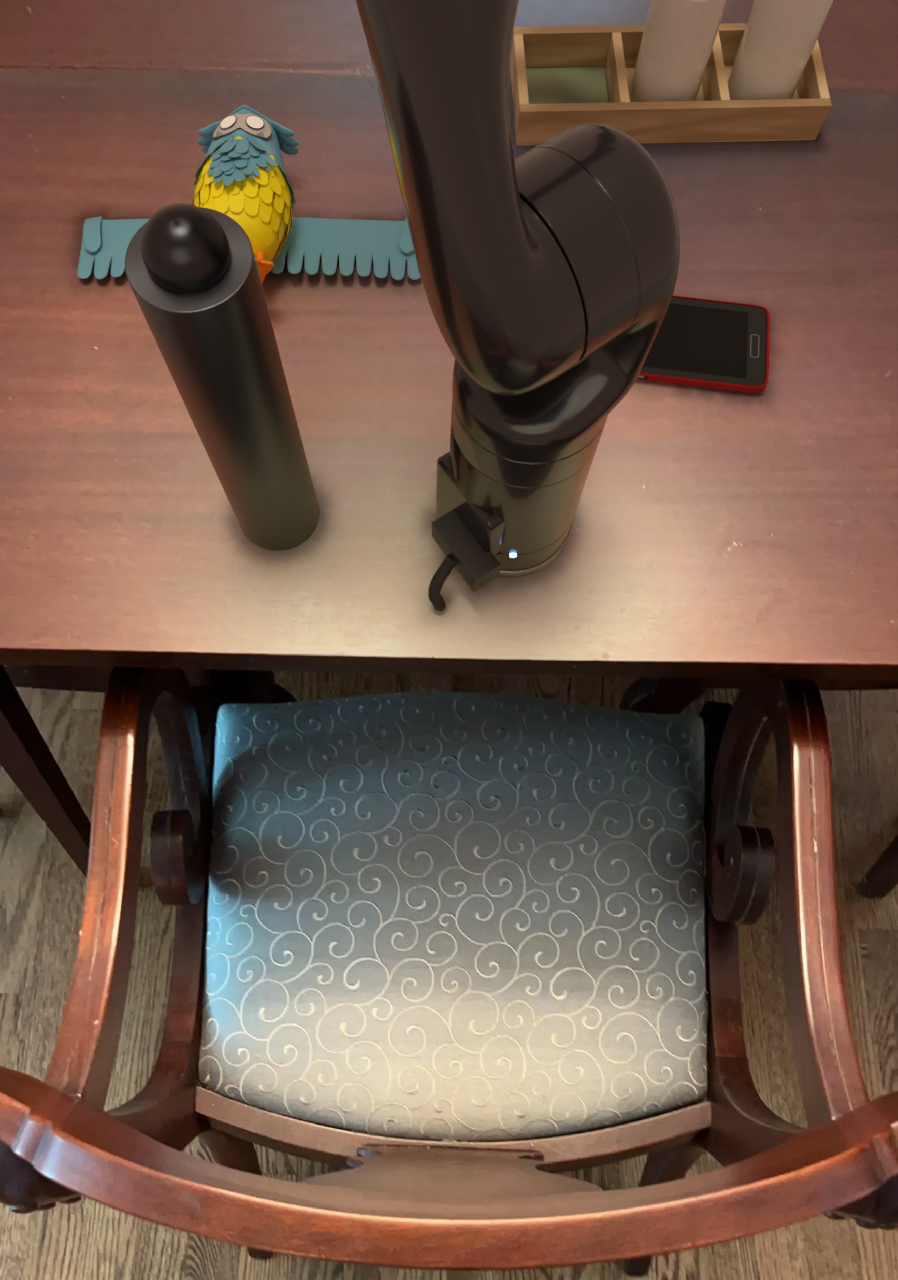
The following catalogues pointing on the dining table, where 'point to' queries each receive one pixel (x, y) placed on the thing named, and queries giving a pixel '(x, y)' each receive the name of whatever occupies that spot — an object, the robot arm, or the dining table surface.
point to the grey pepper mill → (226, 365)
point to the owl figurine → (263, 211)
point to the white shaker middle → (675, 49)
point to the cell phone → (711, 345)
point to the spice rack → (599, 94)
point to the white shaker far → (776, 48)
